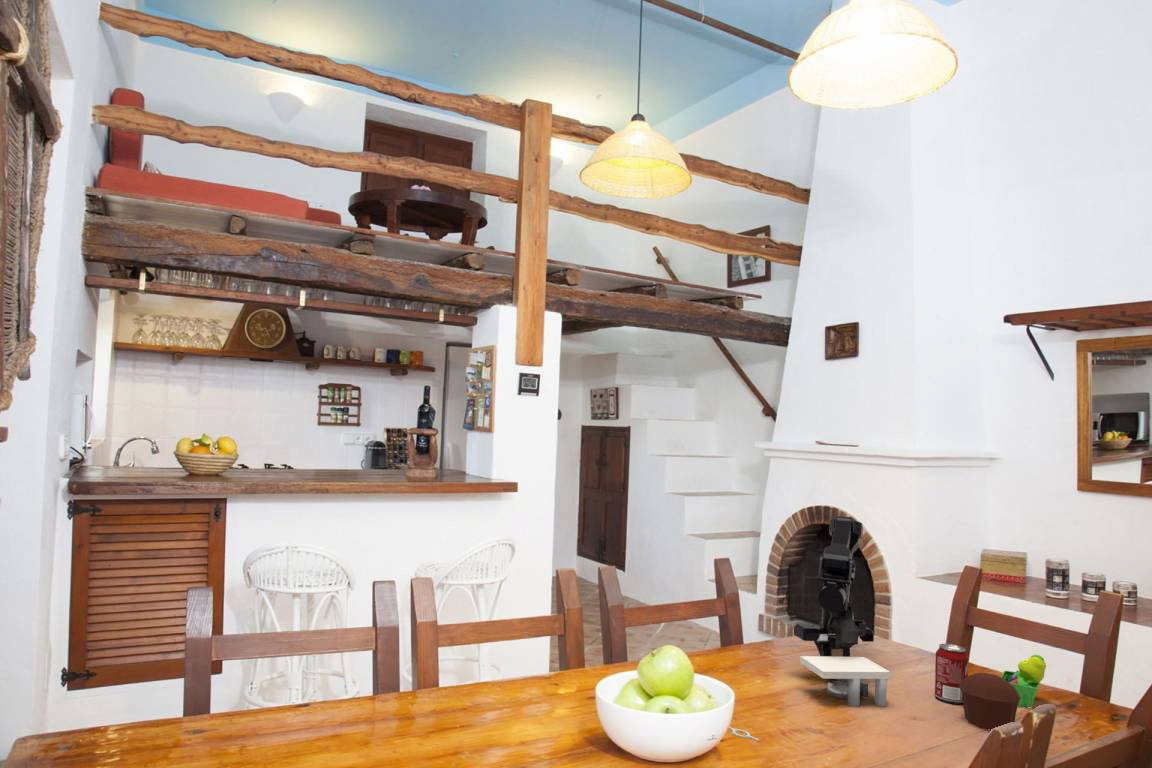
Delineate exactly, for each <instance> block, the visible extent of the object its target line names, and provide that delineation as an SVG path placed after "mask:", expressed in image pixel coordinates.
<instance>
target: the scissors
mask: <svg viewBox="0 0 1152 768" xmlns="http://www.w3.org/2000/svg"><path fill="white" fill-rule="evenodd" d="M728 730H730V731H731V733H732V734H731V735H733V736H735V737H738V738H742V739H750V740H753V741H755V742H759V741H760V739H759V738H758V737H754V736H752V735H751V734H750V732H748V731H746V730H744V729H740V728H739V729H738V728H734V727H731V726H729V729H728ZM739 733H743V734H745V735H743V734H739Z"/></svg>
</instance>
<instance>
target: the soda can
mask: <svg viewBox="0 0 1152 768" xmlns="http://www.w3.org/2000/svg"><path fill="white" fill-rule="evenodd" d="M934 664H935V665H934V667H935V669H934V670H935V672H934V695H935V697H937V698H938V699H939V700H940V701H942V702H946V703H948V702H949V704H953V703H955V704H954V705H960V704H963V698H962V691H961V690H960V688H959V685H960V684H961V683H962V681H963V680H964V679H965V678H966V677H967V676H969V657H968V654H967V653H966V648H965V647H963V646H960V645H958V644H957V645H956V644H952V643H951V644H950V643H940V644H939V645H938V648H937V650H936V651H935V663H934Z"/></svg>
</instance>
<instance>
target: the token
mask: <svg viewBox="0 0 1152 768" xmlns="http://www.w3.org/2000/svg"><path fill="white" fill-rule="evenodd" d="M826 693H827V694H828V696H830V697H833V698H837V699H845V700H846V699H848V684H846V683H843V682H840V681H838V680H830V681H828V682H827V690H826Z"/></svg>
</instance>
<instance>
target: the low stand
mask: <svg viewBox="0 0 1152 768" xmlns="http://www.w3.org/2000/svg"><path fill="white" fill-rule="evenodd" d="M799 658H800V659H799V662H800V664H801V665H803V666H804V667H806V668H807V669H809V670H810V671H811V672H813V673H815V674H816V675H817V676H819V677H820V678H822V679H824V680H825V679H827V680H828V679H832V680H833V679H834V680H836V679H849V681H848V698H847V705H848V706H850V707H855V708H856V707H857V708H858V707H859V706H860V696H861V695H860V679H861V680H864V679H865V680H871V679H872V680H875V681H874V683H875V684H874V705H875V706H878V707H880V708H881V707H883V708H884V707H887V694H888V693H887V692H888V691H887V687H888V680H890V679H891V671H889V670H888V669H885V668H884V667H882V666H881V665H879V664H877V663H875V662H873V661H872V660H870V659H868V658H866V657H864V656H850V657H831V656H820V655H819V656H818V655H817V656H812V655H809V656H808V655H807V656H806V655H802V656H801V655H800V657H799Z"/></svg>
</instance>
